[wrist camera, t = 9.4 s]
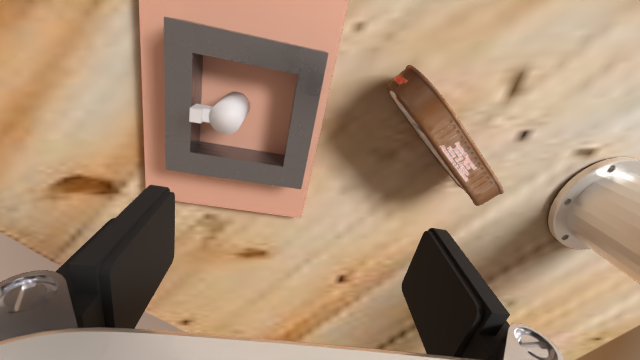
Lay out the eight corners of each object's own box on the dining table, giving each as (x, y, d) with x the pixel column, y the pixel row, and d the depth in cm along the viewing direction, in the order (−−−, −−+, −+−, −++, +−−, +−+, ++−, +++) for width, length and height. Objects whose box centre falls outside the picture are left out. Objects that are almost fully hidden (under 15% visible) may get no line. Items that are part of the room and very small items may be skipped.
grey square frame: (325, 51, 26) (328, 53, 23) (300, 175, 31) (301, 189, 28) (178, 18, 24) (163, 16, 21) (177, 157, 29) (165, 169, 26)
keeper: (348, -10, 25) (367, -25, 19) (301, 211, 34) (302, 251, 28) (145, -64, 23) (87, -103, 16) (152, 190, 32) (116, 229, 25)
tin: (472, 167, 34) (524, 205, 26) (448, 184, 34) (492, 226, 27) (398, 58, 28) (437, 67, 20) (371, 81, 29) (399, 98, 21)
